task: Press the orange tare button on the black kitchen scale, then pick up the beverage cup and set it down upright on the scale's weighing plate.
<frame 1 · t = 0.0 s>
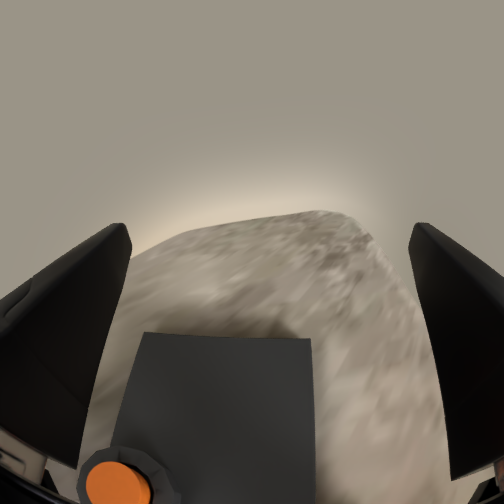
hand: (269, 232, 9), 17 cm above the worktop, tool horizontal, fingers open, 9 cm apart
scale: (212, 440, 19), on the worktop
tare button: (118, 490, 13), point 3 cm above the worktop, slide at 0.1 cm
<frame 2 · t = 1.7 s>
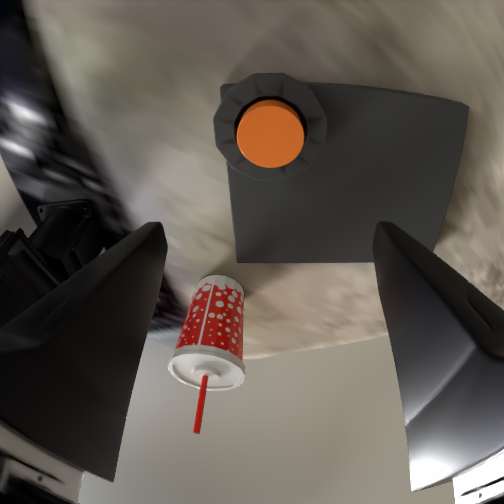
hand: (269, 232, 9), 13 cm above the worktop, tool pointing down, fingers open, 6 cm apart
scale: (347, 179, 22), on the worktop
beverage cup: (220, 290, 30), on the worktop
tare button: (270, 133, 16), point 3 cm above the worktop, slide at 0.1 cm
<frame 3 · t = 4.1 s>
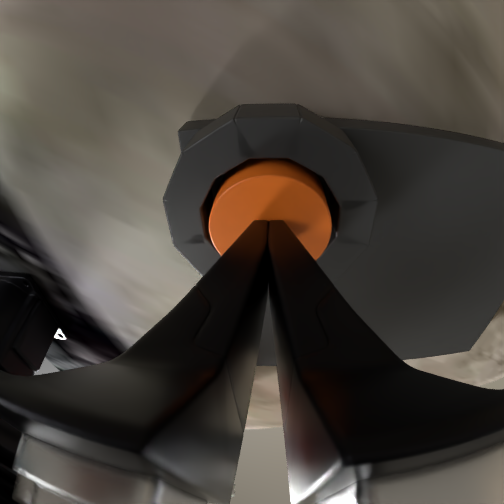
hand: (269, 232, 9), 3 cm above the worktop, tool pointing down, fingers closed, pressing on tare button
scale: (385, 267, 14), on the worktop
tare button: (270, 215, 10), point 3 cm above the worktop, slide at -0.8 cm, touching gripper
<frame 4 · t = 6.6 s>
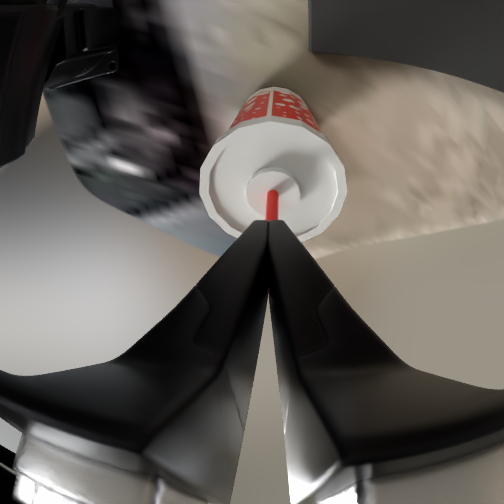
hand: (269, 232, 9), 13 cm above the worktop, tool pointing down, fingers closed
beverage cup: (275, 118, 19), on the worktop, touching gripper
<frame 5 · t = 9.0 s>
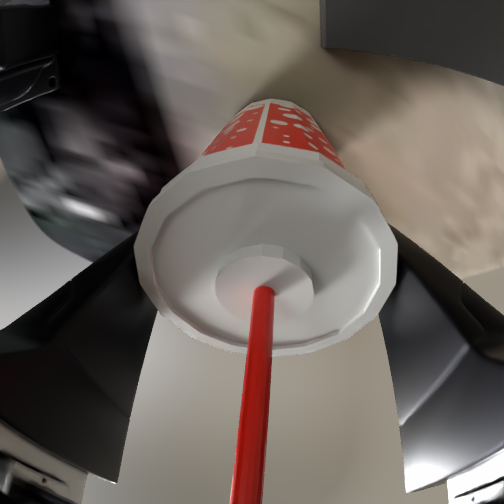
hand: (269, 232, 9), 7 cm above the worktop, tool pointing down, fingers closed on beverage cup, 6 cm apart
beverage cup: (273, 144, 14), on the worktop, touching gripper
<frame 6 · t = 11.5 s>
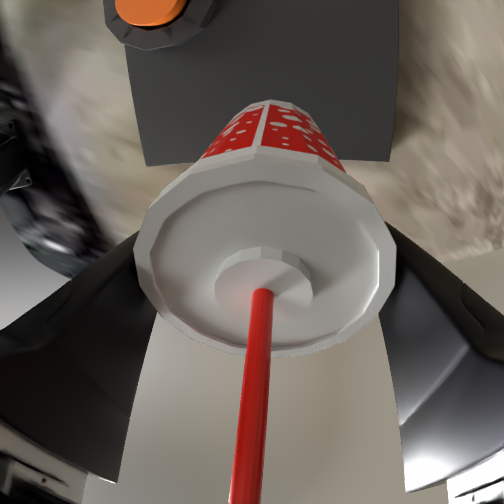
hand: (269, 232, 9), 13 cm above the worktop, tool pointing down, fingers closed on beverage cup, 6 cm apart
scale: (262, 54, 17), on the worktop
beverage cup: (273, 145, 14), point 6 cm above the worktop, touching gripper
when the fingers open (8 cm above the worktop, at t = 14.0 s): beverage cup stays where it is, resting on scale.
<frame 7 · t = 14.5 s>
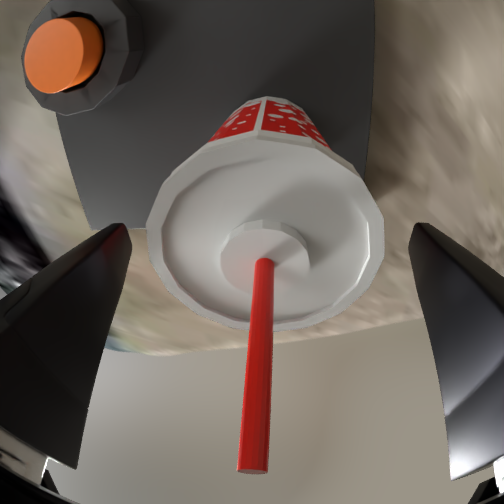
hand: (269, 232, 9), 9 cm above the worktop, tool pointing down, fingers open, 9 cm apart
scale: (202, 105, 15), on the worktop
beverage cup: (269, 139, 15), point 1 cm above the worktop, touching scale
tare button: (62, 53, 10), point 3 cm above the worktop, slide at 0.1 cm
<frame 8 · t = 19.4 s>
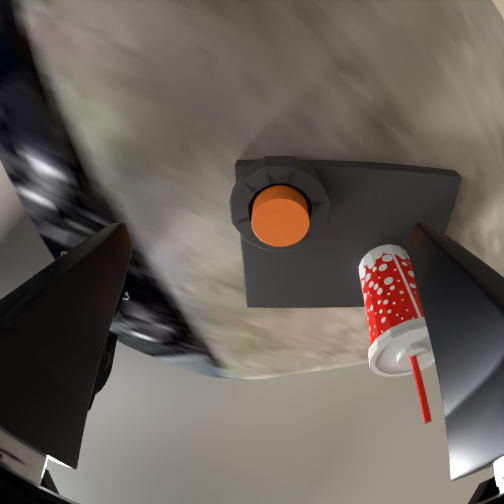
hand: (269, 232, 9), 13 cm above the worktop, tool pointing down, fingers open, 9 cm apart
scale: (346, 240, 25), on the worktop
beverage cup: (383, 264, 25), point 1 cm above the worktop, touching scale
tare button: (280, 216, 20), point 3 cm above the worktop, slide at 0.1 cm
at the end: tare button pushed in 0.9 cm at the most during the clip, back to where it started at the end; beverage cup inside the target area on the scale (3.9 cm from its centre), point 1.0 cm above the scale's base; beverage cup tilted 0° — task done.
